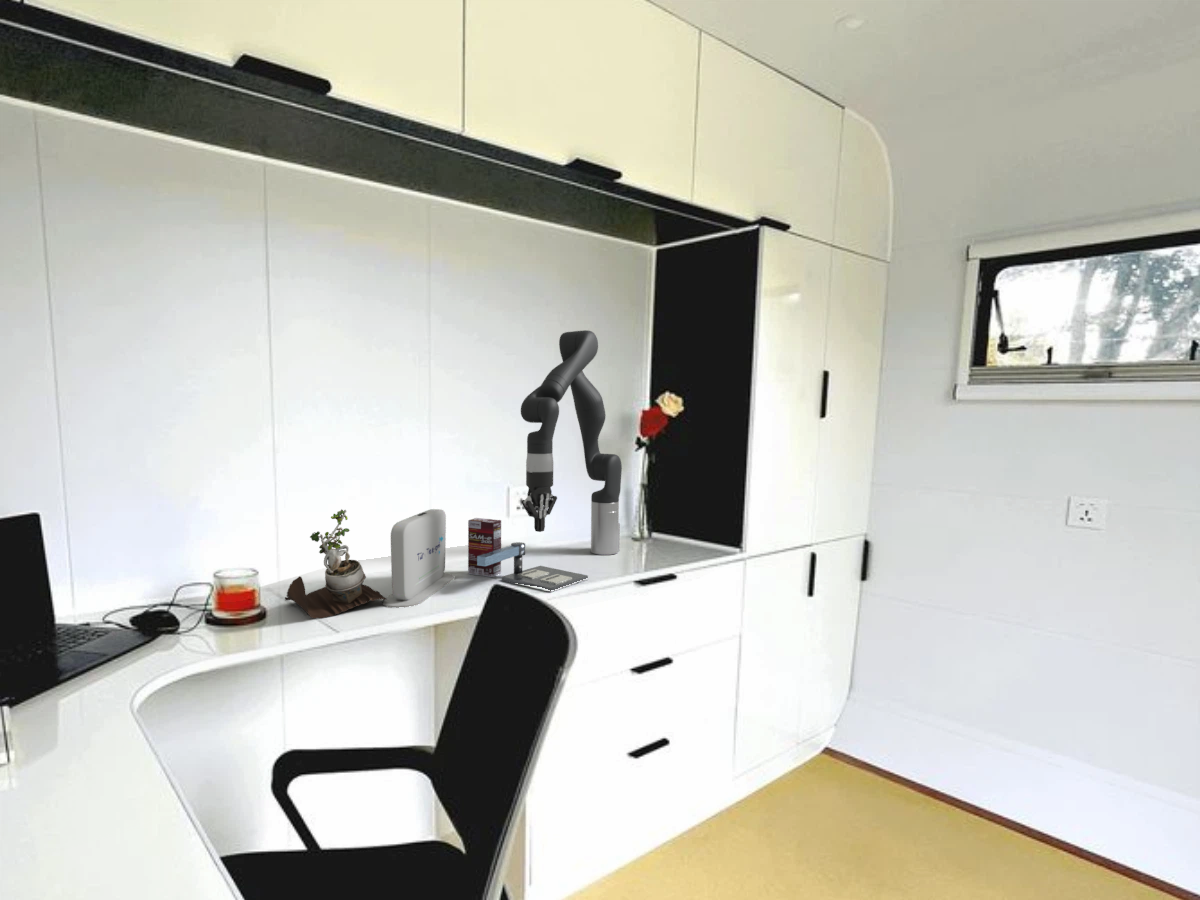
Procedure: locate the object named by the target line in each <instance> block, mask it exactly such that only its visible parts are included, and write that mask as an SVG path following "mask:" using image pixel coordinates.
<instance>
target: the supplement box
mask: <svg viewBox="0 0 1200 900" xmlns="http://www.w3.org/2000/svg"><path fill="white" fill-rule="evenodd" d="M467 523H468V524H467V525H468V527H467V530H468V534H467V536H468V537H467V540H468V541H467V545H468V546H467V547H468V549H467V551H468V552H467V554H468V555H467V557H468V559H467V572H468V573H467V574H468V575H475V576H481V577H489V578H494V577H496V575H497V576H498V574H499V575H500V574H501V573H502V571H501V570H502V561H500V562H497V563H494V564H491V565H488V566H479V565H477V556H480V555H483V554H486V553H489V552H492V551H495V550H498V549H502V520H501V519H491V518H484V517H483V518H480V517H474V518H472V519H469V520H468V522H467Z"/></svg>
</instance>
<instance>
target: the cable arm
mask: <svg viewBox="0 0 1200 900" xmlns="http://www.w3.org/2000/svg"><path fill="white" fill-rule="evenodd" d="M525 555H526V543H525V542H520V541H519V542H517V541H516V542H512V543H510V545H509V546H505V547H501V549H498V550H495V551H492V552H489V553H486V554H483V555H480V556H477V565H479V566H488V565H491V564H494V563H497V562H500V561H501V562H502V561H505V560H507V559H511V558H514V556H522V557H523V556H525Z"/></svg>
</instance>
